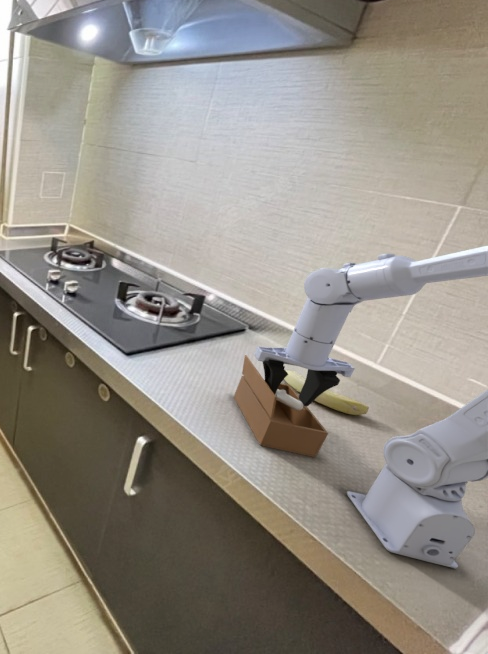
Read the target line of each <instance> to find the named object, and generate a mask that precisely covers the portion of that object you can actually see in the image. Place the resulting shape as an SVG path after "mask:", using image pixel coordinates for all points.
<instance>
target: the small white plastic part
mask: <svg viewBox="0 0 488 654" xmlns="http://www.w3.org/2000/svg"><path fill="white" fill-rule="evenodd" d="M275 396H276V397H277V398H276V400H277V401H280V402H282V403H283V404H285V405H287V406H289V407H291V408H292V409H294V410H297V411H299V410H301V409H302V408H303V403H302V402H301V401H299V400H297V399H295V398H293V397H291V396H290V395H288V394H287V393H286V390H284V389H282V390H279V389H277V391H276V394H275Z"/></svg>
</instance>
